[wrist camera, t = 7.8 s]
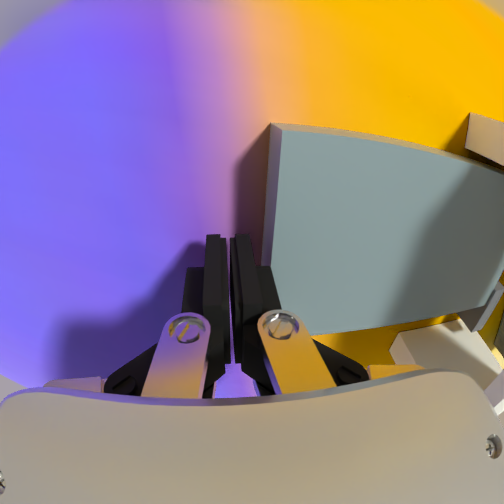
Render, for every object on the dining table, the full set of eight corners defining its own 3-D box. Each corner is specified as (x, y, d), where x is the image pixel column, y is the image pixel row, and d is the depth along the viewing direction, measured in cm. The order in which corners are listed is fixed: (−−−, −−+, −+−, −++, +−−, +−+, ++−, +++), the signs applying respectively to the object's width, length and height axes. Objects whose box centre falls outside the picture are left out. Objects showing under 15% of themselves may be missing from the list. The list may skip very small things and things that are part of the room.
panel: (467, 285, 16) (484, 305, 14) (257, 304, 15) (263, 339, 13) (508, 172, 12) (533, 187, 10) (269, 122, 10) (282, 130, 8)
